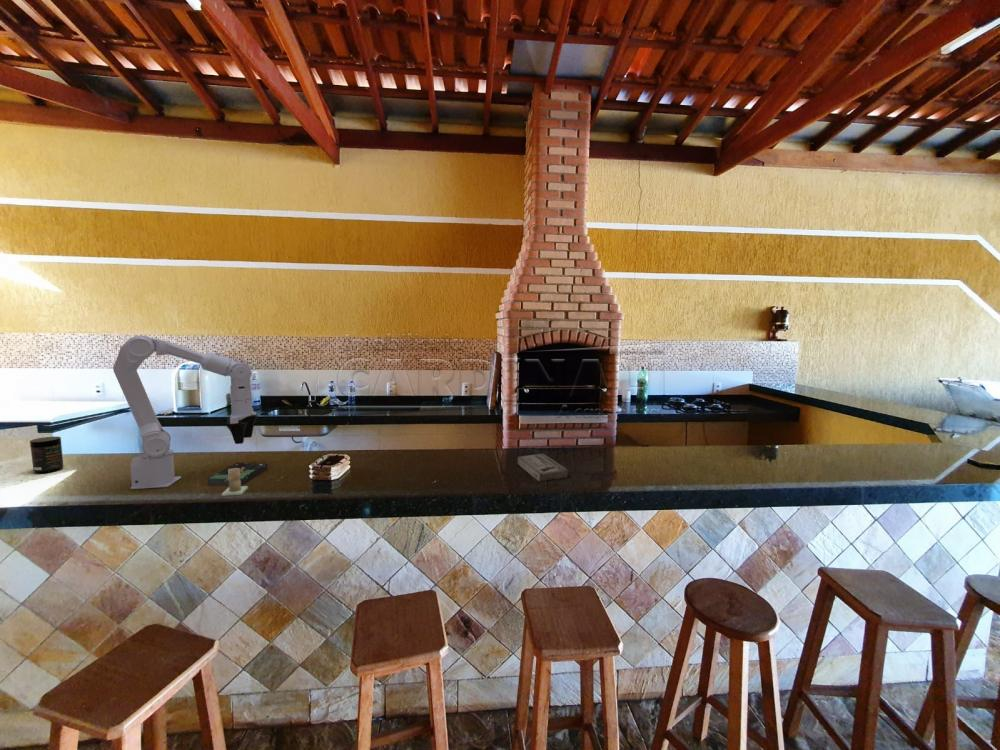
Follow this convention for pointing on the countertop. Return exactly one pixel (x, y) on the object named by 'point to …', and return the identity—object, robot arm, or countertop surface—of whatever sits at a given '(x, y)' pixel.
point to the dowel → (234, 479)
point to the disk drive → (245, 473)
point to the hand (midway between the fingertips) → (243, 440)
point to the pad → (240, 492)
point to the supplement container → (46, 455)
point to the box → (542, 467)
